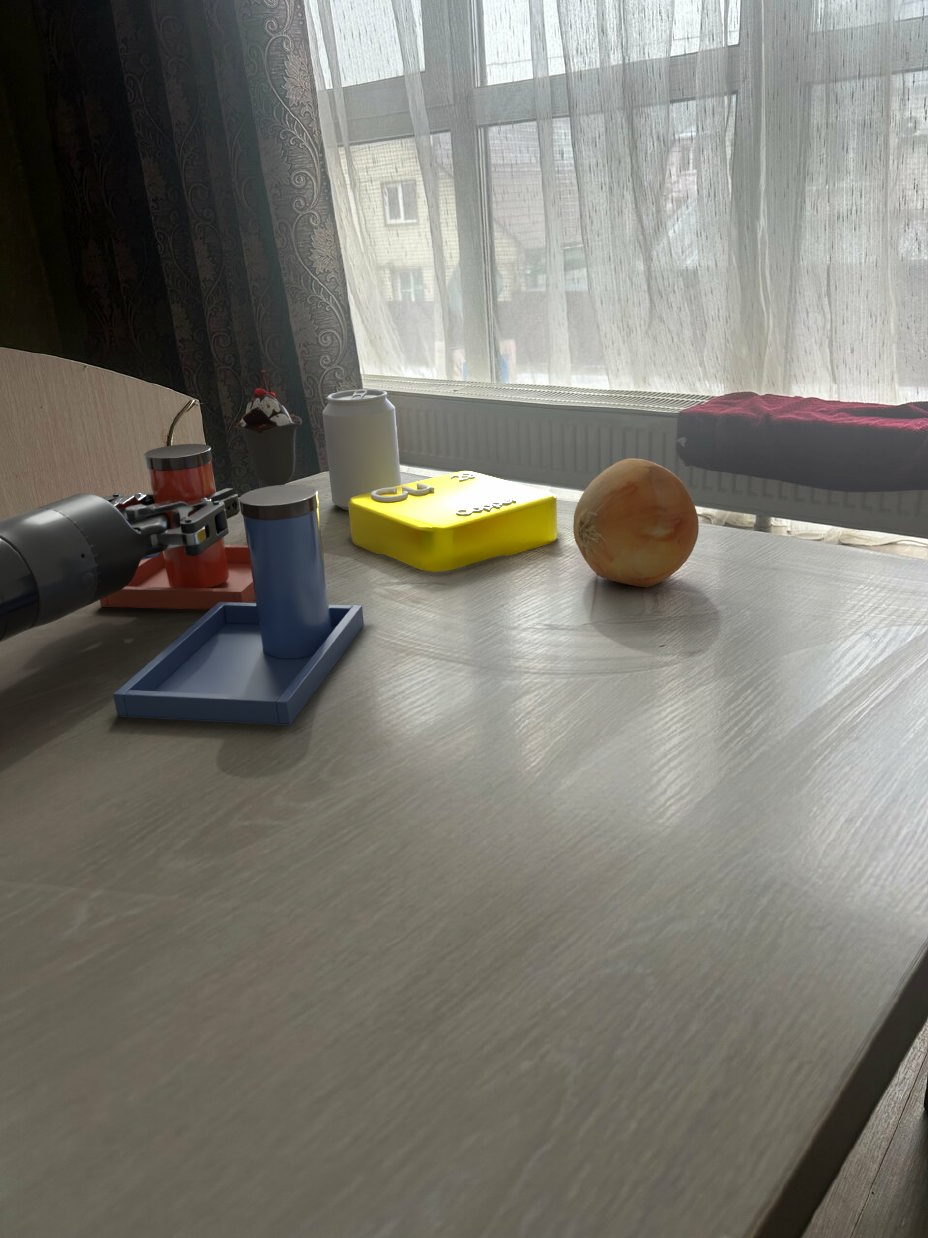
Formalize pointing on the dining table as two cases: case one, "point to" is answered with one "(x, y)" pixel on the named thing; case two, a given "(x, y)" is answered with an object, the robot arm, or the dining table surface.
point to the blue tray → (233, 671)
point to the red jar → (189, 479)
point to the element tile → (453, 520)
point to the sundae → (269, 437)
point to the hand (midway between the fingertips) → (206, 498)
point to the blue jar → (287, 569)
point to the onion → (636, 523)
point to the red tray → (156, 592)
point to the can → (360, 444)
